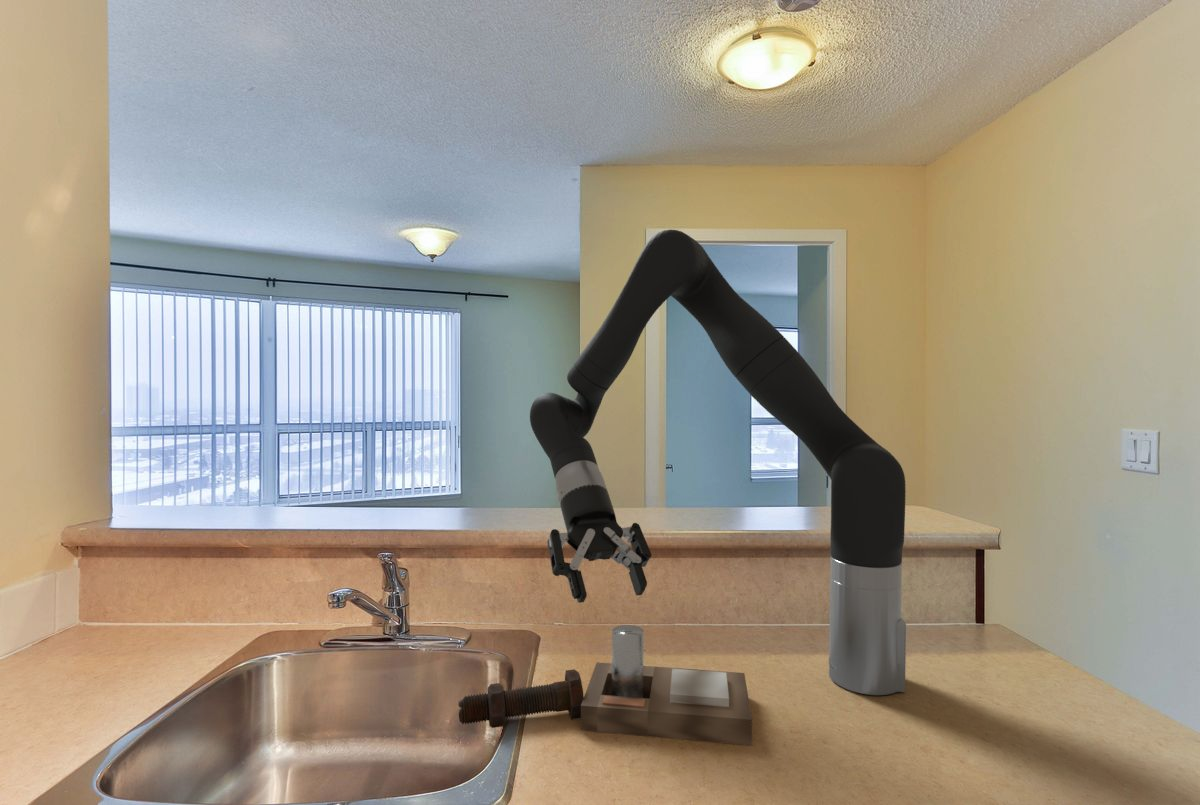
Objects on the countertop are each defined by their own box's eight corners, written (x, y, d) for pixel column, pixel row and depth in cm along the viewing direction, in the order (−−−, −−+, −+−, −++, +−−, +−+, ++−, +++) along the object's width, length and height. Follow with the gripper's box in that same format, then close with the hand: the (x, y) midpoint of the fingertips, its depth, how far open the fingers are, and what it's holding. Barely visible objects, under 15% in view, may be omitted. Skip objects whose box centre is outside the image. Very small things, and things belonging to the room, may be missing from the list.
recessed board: (744, 695, 84) (744, 665, 84) (752, 745, 72) (752, 711, 72) (596, 683, 87) (596, 655, 87) (580, 730, 75) (580, 697, 75)
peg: (644, 701, 82) (644, 626, 82) (641, 717, 78) (642, 638, 78) (613, 699, 82) (614, 624, 82) (609, 715, 78) (610, 635, 78)
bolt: (459, 738, 77) (580, 719, 80) (459, 737, 72) (586, 718, 76) (458, 686, 79) (574, 670, 83) (457, 683, 75) (580, 666, 78)
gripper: (543, 485, 90) (569, 588, 79) (633, 480, 95) (668, 576, 85) (533, 515, 95) (556, 615, 84) (619, 509, 100) (651, 603, 90)
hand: (612, 596), depth 84 cm, fingers open, 8 cm apart
